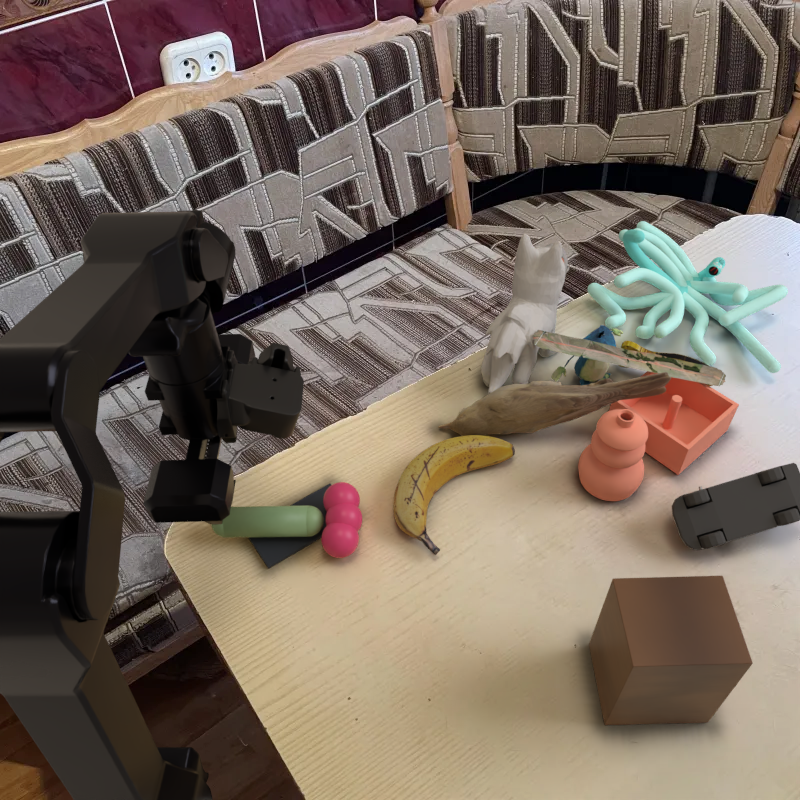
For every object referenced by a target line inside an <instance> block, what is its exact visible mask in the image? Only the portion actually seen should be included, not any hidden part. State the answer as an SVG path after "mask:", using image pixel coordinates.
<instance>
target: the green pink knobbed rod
mask: <svg viewBox="0 0 800 800" xmlns="http://www.w3.org/2000/svg"><path fill="white" fill-rule="evenodd" d="M360 502H361V497H360V494H359V492H358V490H357V488H356V487H355V486H353V484H351V483H349V482H345V481H338V482H334V483H333V484H331V486H330V487H329V488H328V489H327V490H326V492H325V494H324V498H323V503H324V507H325V509H326V511H327V513H326V518H325V521H326V527H325V529H324V530H323V533H322V537H321V538H320V539H321V545H322V549H323V550H324V552H325V553H326V554H328V555H329V556H331V557H333V558H337V559H343V558H347V557H349V556H351V555H352V554H353V553H354V552H356V550H357V548H358V545H359V544H360V543H359V542H360V536H359V531H360V530H361V527H362V525H363V514H362V511H361V509H360V508H359V507H360V504H361V503H360ZM323 524H324V518H323V514H322V513H321V511H320V510H319V509H318V508H316V507H314V506H290V505H255V506H254V505H253V506H251V505H250V506H248V505H247V506H245V505H243V506H231V510H230V515H229V516H227V517H226V518H225V519H223V523H222V524H217V525H211V524H210V526H211V529H212V532H214V533H215V534H216V535H217V536H218V537H221V538H224V539H225V538H227V539H232V538H233V539H235V538H236V539H237V538H238V539H239V538H241V539H242V538H243V539H244V538H248V537H309V536H314V535H316V534H317V533H319V532H320V530H321V529H322V527H323Z"/></svg>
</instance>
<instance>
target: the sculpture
mask: <svg viewBox="0 0 800 800" xmlns="http://www.w3.org/2000/svg"><path fill="white" fill-rule="evenodd" d="M670 380H671V377H670V376H669V375H668V373H667V372H663V373H659V374H652V375H648V376H644V377H640V376H639V377H634V378H629V379H624V380H619V381H614V380H613V379H611V378H610V377H609V378H606V379H603V380H599V381H595V382H592V383H591V384H589V385H581V384H580V385H577V384H562V382H561V381H557V382H555V381H554V380H533V381H529V382H530V383H528V384H513V383H512V384H507V385H503V386H502V387H500V388H498V389H496V390H495V391H493V392H492V393H490V394H487V395H485V396H484V397H481V398H479V399H478V400H475V402H474V403H472V404H470V405H469V406H467V407H465V408H462V409H461V410H459V412H458V414H457V416H456V418H455V419H453V420H452V421H451V422H448V423H443V424H440V425H438V429H444V430H445V429H446V430H451V431H453V432H455V433H456V434H458V435H459V436H468V435H483V436H487V435H510V434H516V433H523V434H532V433H536V432H538V431H540V430H544V429H546V428H549V427H554V426H557V425H560V424H564V423H567V422H571V421H574V420H577V419H579V418H581V417H584V416H587V415H590V414H592V413H594V412H596V411H598V410H600V409H602V408H604V407H607V406H610V405H611V404H612V403H614V402H617V401H619V400H626V399H634V398H642V397H649V396H655V395H660V394H662V393H664V392H665V391H666V388H665V385H666V384H667V383H668V382H669V381H670Z"/></svg>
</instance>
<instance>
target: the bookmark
mask: <svg viewBox="0 0 800 800" xmlns="http://www.w3.org/2000/svg"><path fill="white" fill-rule="evenodd" d="M533 339H534V340H535V342H534V345H537V346H538V347H539V348H543V349H549V350H551V351H555V352H556V353H560V354H564V355H568V356H574V357H578V358H579V357H581V356H582V357H583V358H588V359H593V360H598V361H602V362H607V363H609V364H612V365H615V366H619V365H621V366H624V367H629V368H628V369H634V370H638V371H642V372H647V371H649V372H654V373H658V374H659V373H663V372H667V373H668V375H669V376H670V377H673V378H679V379H684V380H689V381H694V382H700V383H705V384H709V385H713V386H714V387H720V386H723V385H724V383H726V377H727V375H726V374H725V372H724V371H723V370H722V369H719V368H718V367H714V366H712V365H709V366H706V365H701V364H696V363H691V362H685V361H681V360H676V359H672V358H669V357H665V356H661V355H657V354H653V353H645V352H637V351H633V350H627V349H623V348H621V347H619V346H616V347H615V346H611V345H607V344H603V343H598V342H594V341H590V340H586V339H583V338H579V337H573V336H569V335H564V334H559V333H556V332H555V333H550V332H546V331H541V330H537V332H536V333H534V337H533ZM624 367H623V368H624Z"/></svg>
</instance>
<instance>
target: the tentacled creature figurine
mask: <svg viewBox="0 0 800 800" xmlns="http://www.w3.org/2000/svg"><path fill="white" fill-rule="evenodd" d="M618 239H619V241H621V242H623V246H624V249H625V251H626V254H627V255H628V256H629V258H630V259H631V260H632V261H633V262H634V264H635V265H637V267H635V268H632V269H629V270H627V271H625V272H623V273H621V274H618V275H617V276H615V277H614V279H613V284H614V286H615V287H616V288H618V289H623V288H625V287H627V286H630V285H631V284H634V283H635V282H638V281H642V282H645V283H647V284H649V285H651V286H653V287H655V288H656V289H658V290H660V291H658V292H654V293H649V294H646V295H641V296H633V297H631V296H629V297H627V296H623V295H620V294H618V293H616V292H614V291H612V290H611V289H608V288H607V287H605V286H604V285H602V284H600V283H598V282H592V283H590V284H589V285H588V286H587V293H588V295H589V296H590V297H591V298H592V299H593V300H594V301H595V302H596V303H597V304H598V305H599V306H600V307H601V308H602V309H603V310H604V311H605V312H606V313H607V314H608V315H609V316H608V317H607V318H606V319H605V321H604V324H605V326H606V327H608V328H609V329H610V330H612V329H617V328H619V327H622V326H623V325H624V324H625V323H626V322H627V314H626V313H625V311H624V310H627V311H628V310H629V311H630V310H640V309H641V310H642V309H647V308H651V307H652V308H651V309H649V310H648V312H647V313H646V314H645V316H644V317H643V319H642V325H639V326H637V327H636V328H635V335H636V337H637V338H639V339H644V340H648V339H651V338H652V337H653V336H655V338H658V339H664V338H666V337H667V336H669V335H670V334H671V333H672V332H674V331H675V330H676V329H678V327H679V326H680V325H681V324H682V322H683V318H684V314H685V310H686V311H687V312H688V313H690V314H691V316H692V317H693V318H694V319H695V321H694V325H693V326H692V328H691V331H690V334H689V344H690V347H691V348H692V350H693V352H694V353H695V354H696V355H697V356H698V358H699V359H700V361H701V362H703V363H705V364H707V365H709V366H713V365H715V364H716V363H717V356H716V354H715V353H714V352H713V351H712V349H711V348H710V347H709V346H708V345H707V343H706V342H705V340H704V337H705V334H706V332H707V330H708V327H709V322H710V317H711V318H713V320H716V321H717V322H718V323H719V325H720V326H722V327H724V328H725V329H726V330H727V331H728V332H730V333H731V335H732V336H734V337H735V338H736V339H737V340H738V341H739V342H740V343H741V344H742V345H743V347H745V349H746V350H747V351H748V352H749V354H751V355H752V356H753V357H754V358H755V360H757V362H758V363H760V365H761V366H762V367H763V368H764V369H765V370H766V371H767V372H769V373H770V374H777V373H778V372H780V370H781V368H782V364H781V363H780V361H779V360H777V358H776V357H775V356H774V355H773V354H772V353H771V352H770V351H769V350H768V349H767V348H766V347H765V346H764V345H763V344H762V343H761V342H760V341H759V340H758V339H757V338H756V337H755V336H754V335H753V334H752V332H751V331H749V330H748V329H747V328H746V327H745V325H744V324H742V323H741V322H740V321H741V320H744V319H746V318H747V317H750V316H751V315H754V314H755V313H758V312H760V311H762V310H764V309H767V308H769V307H771V306H773V305H775V304H776V303H779V302H780V301H781V300H784V299H785V298H786V297H787V295H788V293H789V289H788V287H787V286H786V285H784V284H774V285H768V286H764V287H760V288H756V289H752V290H749V289H748V287H747V286H746V285H744V284H742V283H739V282H731V281H730V282H729V281H718V280H717V279H716V277H717V276H719V275H721V273H722V271H723V269H724V268H725V266H726V260H725V259H724V258H723V257H721V256H717V257H715V258H713V259H712V260H711V261H710V262H709V263H708V264H707V265H706V267H705V268H703V269H702V270H700V271H699V272H698V271H697V270H696V267H695V266H694V264H693V263H692V260H691V259H690V258H689V255H687V253H686V252H685V250H684V249H683V248H682V247H681V245H679V244H678V243H677V242H676V241H675V240H674V239H673V238H671V237H670V236H669V235H668V234H666V233H665V232H663V231H662V230H661V229H660V228H657V227H656V226H654V225H653V224H651V223H649V222H647V221H645V220H641V221H639V222H637V224H636V227H635V228H632V229H627V228H625V229H622V230H620V231H619V233H618ZM703 294H707V295H709V297H710V298H711V299H712V300H713V301H712V300H711V299H710V298H708V297H707V296H705V295H703ZM721 306H723V307H734V308H732V309H730V310H727V311H726V310H725V309H724V308H722V307H721ZM669 311H670V313H669V317H667V319H665V320H664V321H662V322H661V323H659V324H658V325H657V321H658V320H659V319H660V318H661V317H662V316H664V315H665V314H667V313H668V312H669ZM709 316H710V317H709Z"/></svg>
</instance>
